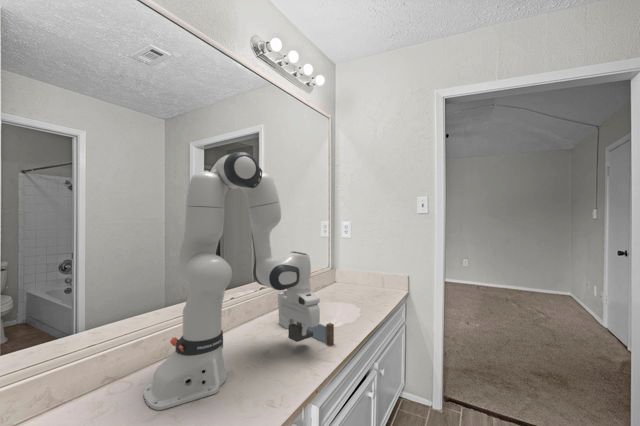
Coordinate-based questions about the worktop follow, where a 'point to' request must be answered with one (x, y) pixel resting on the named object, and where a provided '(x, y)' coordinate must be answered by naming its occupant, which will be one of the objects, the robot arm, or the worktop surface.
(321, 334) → the door
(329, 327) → the door frame
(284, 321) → the skincare box
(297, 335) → the doorstop wedge
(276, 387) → the worktop surface
